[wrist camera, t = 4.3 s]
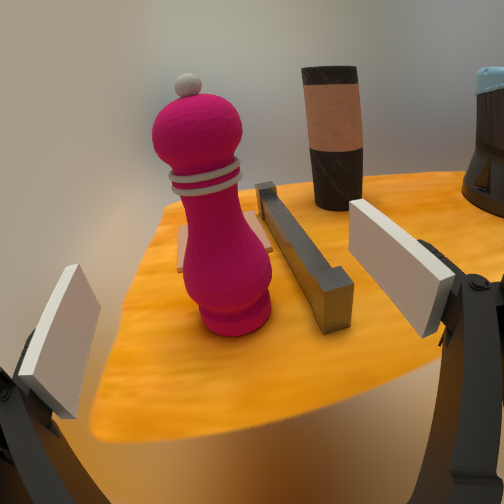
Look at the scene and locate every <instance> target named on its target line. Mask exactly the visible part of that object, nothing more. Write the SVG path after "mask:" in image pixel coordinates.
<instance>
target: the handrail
mask: <svg viewBox="0 0 504 504" xmlns="http://www.w3.org/2000/svg"><path fill="white" fill-rule="evenodd" d="M255 189H256V195H257V202H258V209H259V214H260V216H261V218H262V219H263V220H265V222H266V224H267V226H268V227H269V229H270V231H271V233H272V235H273V237H274V238H275V240H276V242H277V244H278V246H279V247H280V249H281V251H282V253H283V255H284V257H285V258H286V260H287V262H288V264H289V266H290V268H291V269H292V271H293V273H294V275H295V277H296V279H297V281H298V282H299V284H300V286H301V288H302V290H303V292H304V294H305V296H306V297H307V299H308V301H309V303H310V305H311V307H312V309H313V315H314V317H315V319H316V321H317V323H318V325H319V327H320V329H321V331H322V333H323V334H327V333H330V332H333V331H336V330H340V329H343V328H346V327H349V326H350V324H351V314H352V304H353V292H354V283H353V281H352V280H351V279H350V277H349V276H348V275H347V273H346V272H345V271H344V270H343V268H342V267H341V266H338V267H335V268H332V267H331V266H330V265H329V263H328V262H327V261H326V259H325V258H324V257H323V255H322V254H321V253H320V251H319V250H318V248H317V247H316V246H315V244H314V243H313V242H312V240H311V239H310V238H309V236H308V235H307V234H306V232H305V231H304V230H303V229H302V227H301V226H300V225H299V223H298V222H297V221H296V219H295V218H294V217H293V216H292V214H291V213H290V212H289V210H288V209H287V208H286V206H285V205H284V204H283V203H282V201H281V200H280V199H279V198H278V196H277V190H276V186H275V185H274V184H273V183H272V182H265V183H260V184H255Z"/></svg>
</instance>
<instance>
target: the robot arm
mask: <svg viewBox="0 0 504 504" xmlns="http://www.w3.org/2000/svg"><path fill="white" fill-rule="evenodd" d="M475 95H477V123H476V144H475V152H474V154H473V157H472V159H471V161H470V164H469V166H468V169H467V171H466V173H465V176H464V178H463V185H462V193H463V195H464V196H465V197H466V198H467V199H468V200H469V201H470V202H472V203H473V204H475V205H476V206H478V207H480V208H482V209H484V210H486V211H488V212H491V213H493V214H496V215H499V216H502V217H504V67H484V68H481V69H479V71H478V72H477V74H476V92H475ZM349 251H350V252H351V253H352V255H353V256H354V257H355V258H356V259H357V260H358V261H359V263H360V264H361V265H362V266H363V267H364V268H365V270H366V271H367V272H368V273H369V274H370V275H371V277H372V278H373V279H374V280H375V281H376V282H377V284H378V285H379V286H380V287H381V288H382V290H383V291H384V292H385V293H386V294H387V296H388V297H389V298H390V299H391V300H392V302H393V303H394V304H395V305H396V307H397V308H398V309H399V310H400V312H401V313H402V314H403V315H404V317H405V318H406V319H407V320H408V322H409V323H410V324H411V325H412V327H413V328H414V329H415V331H416V332H417V333H418V334H419V336H420V337H421V338H425V337H427V336H429V335H431V334H433V333H435V332H437V329H438V327H439V324H440V321H442V322H443V323H444V325H445V326H446V327H445V330H444V332H443V335H442V337H441V340H440V342H439V345H438V346H441V344H442V342H443V348H442V359H441V369H440V378H439V385H438V392H437V398H436V404H435V410H434V415H433V421H432V425H431V430H430V435H429V439H428V443H427V448H426V451H425V455H424V459H423V463H422V467H421V470H420V473H419V477H418V480H417V483H416V486H415V489H414V492H413V494H412V496H411V498H410V500H409V501H408V503H407V504H501V500H502V495H503V487H504V485H503V481H502V479H501V478H499V477H498V476H497V473H496V468H497V461H498V454H499V445H500V435H501V421H502V401H503V406H504V274H503V277H502V280H501V282H492V283H490V282H489V281H488V280H487V279H486V278H484V277H483V276H481V275H478V274H467V275H466V274H465V273H464V272H462V271H461V270H460V269H459V268H458V267H457V266H456V265H455V264H453V263H452V262H451V261H450V260H449V259H448V258H446V257H444V255H443V254H442V253H441V252H438V250H437V249H436V248H435V247H433V246H432V245H431V244H429V243H427V242H425V241H423V240H420V239H419V240H415V239H414V238H413V237H412V236H411V235H409V234H408V233H407V232H406V231H404V230H403V229H402V228H401V227H399V226H398V225H397V224H396V223H394V222H393V221H392V220H390V219H389V218H388V217H387V216H385V215H384V214H383V213H381V212H380V211H379V210H377V209H376V208H375V207H373V206H372V205H371V204H369V203H368V202H367V201H365V200H364V199H359V200H353V201H349ZM100 310H101V306H100V304H99V302H98V300H97V299H96V297H95V295H94V293H93V291H92V289H91V287H90V285H89V283H88V281H87V279H86V277H85V275H84V273H83V271H82V269H81V267H80V265H79V263H78V264H74V265H70V266H67V267H66V268H65V270H64V272H63V274H62V276H61V278H60V279H59V281H58V283H57V285H56V287H55V290H54V291H53V293H52V295H51V297H50V300H49V302H48V304H47V306H46V308H45V310H44V312H43V314H42V316H41V319H40V321H39V323H38V325H37V328H36V329H34V330H33V332H32V333H31V334H30V336H29V337H28V339H27V341H26V344H25V346H24V349H23V351H22V354H21V356H20V359H19V361H18V364H17V366H16V369H15V372H14V375H13V378H12V379H11V378H10V377H9V376H8V374H7V373H6V372H5V371H4V370H3V369H2V368H1V367H0V504H111V503H110V502H109V500H108V499H107V498H106V497H105V495H104V494H103V493H102V492H101V490H100V489H99V488H98V486H97V485H96V484H95V483H94V481H93V480H92V478H91V477H90V476H89V474H88V473H87V471H86V470H85V469H84V467H83V466H82V464H81V463H80V461H79V460H78V458H77V457H76V455H75V454H74V452H73V451H72V449H71V447H70V446H69V444H68V442H67V441H66V439H65V437H64V436H63V434H62V433H61V431H60V429H59V427H58V425H57V424H56V422H55V421H54V420H53V419H52V418H51V417H52V412H54V413H56V415H58V416H59V417H60V418H61V419H77V413H78V407H79V401H80V395H81V389H82V384H83V379H84V374H85V370H86V365H87V361H88V356H89V352H90V348H91V344H92V340H93V336H94V332H95V327H96V324H97V321H98V317H99V313H100Z"/></svg>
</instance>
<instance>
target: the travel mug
mask: <svg viewBox="0 0 504 504" xmlns="http://www.w3.org/2000/svg"><path fill="white" fill-rule="evenodd" d="M301 71H302V79H303V88H304V95H305V106H306V116H307V126H308V138H309V147H310V157H311V165H312V174H313V184H314V194H315V202H316V204H317V205H318V206H319V207H321V208H323V209H327V210H332V211H346V210H349V201H353V200H359V199H362V179H363V138H362V122H361V107H360V96H359V86H358V77H357V69H356V66H318V67H307V68H302V69H301Z"/></svg>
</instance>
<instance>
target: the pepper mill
mask: <svg viewBox="0 0 504 504" xmlns="http://www.w3.org/2000/svg"><path fill="white" fill-rule="evenodd" d="M201 87H202V83H201V81H200V79H199V77H198V76H196V75H195V74H192V73H186V74H183V75H181V76H179V77H178V78H177V80H176V82H175V85H174V88H175V92H176V93H177V95H178V96H180V97H181V98H179V99H177V100H175V101H173V102H171V103H170V104H168V105H167V106H165V107H164V108H163V109H162V110H161V111H160V112H159V114H158V116H157V117H156V119H155V122H154V124H153V129H152V140H153V146H154V149H155V152H156V153H157V155H158V156H159V158H160V159H161V160H163V161H164V162H165V163H167V164H168V165H170V166H171V168H172V169H173V170H171V172H170V173H169V179H170V180H171V181H172V191H173V192H174V193H175V194H177V195H180V197H181V200H182V203H183V206H184V208H185V212H186V217H187V222H188V238H187V245H186V249H185V255H184V261H183V278H184V283H185V287H186V290H187V292H188V294H189V296H190V297H191V298H192V299H193V300H194V301H195V302H196V303H197V304H199V310H200V313H201V316H202V319H203V321H204V324H205V325H206V327H207V328H208V329H209V330H210V331H212V332H214V333H216V334H218V335H222V336H241V335H245V334H248V333H250V332H253V331H255V330H256V329H258V328H259V327H260V326H262V325H263V324H264V323H265V321H266V320H267V319H268V317H269V315H270V312H271V302H270V295H269V291H268V286H269V284H270V282H271V278H272V268H271V263H270V259H269V256H268V254H267V252H266V250H265V247H264V245H263V244H262V242H261V241H260V239H259V238H258V237H257V235H256V234H255V233H254V231H253V230H252V229H251V228H250V226H249V224H248V223H247V221H246V219H245V217H244V215H243V213H242V210H241V207H240V202H239V198H238V186H237V182H238V181H239V180H241V178H242V171H241V170H240V167H239V165H240V159H239V158H237V157H235V156H234V152H235V150H236V148H237V146H238V145H239V143H240V141H241V136H242V123H241V120H240V117H239V114H238V112H237V111H236V109H235V108H234V106H233V105H232V104H231V103H230V102H228V101H227V100H225V99H224V98H222V97H219V96H216V95H211V94H198V93H199V92H200V90H201Z"/></svg>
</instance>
